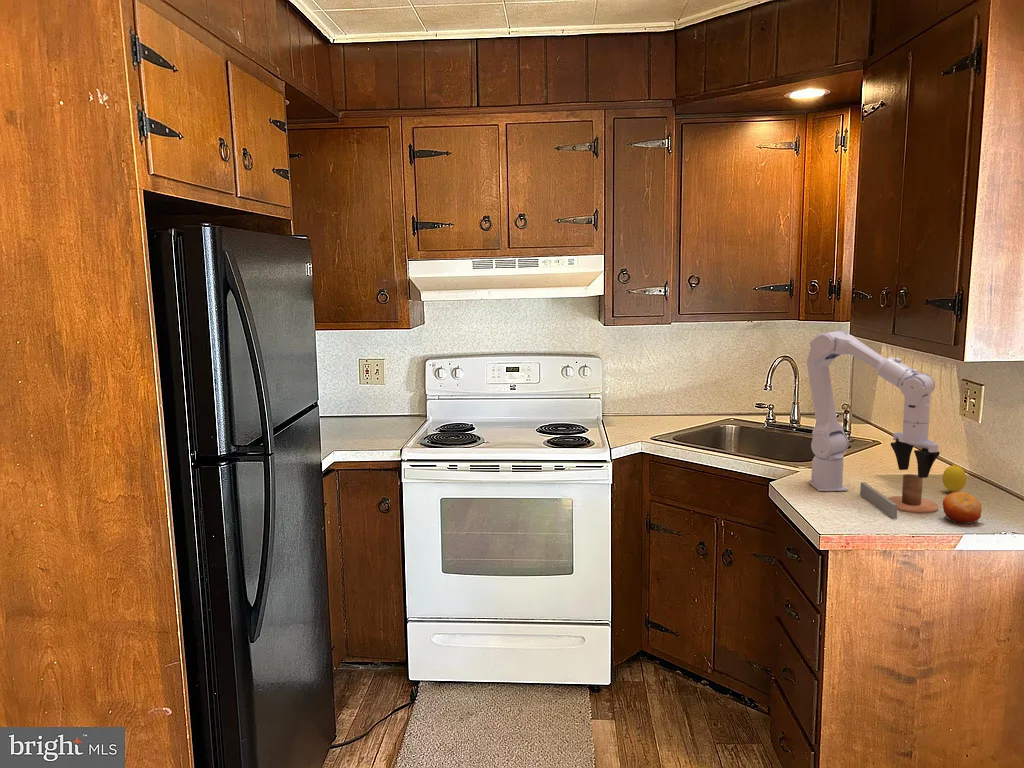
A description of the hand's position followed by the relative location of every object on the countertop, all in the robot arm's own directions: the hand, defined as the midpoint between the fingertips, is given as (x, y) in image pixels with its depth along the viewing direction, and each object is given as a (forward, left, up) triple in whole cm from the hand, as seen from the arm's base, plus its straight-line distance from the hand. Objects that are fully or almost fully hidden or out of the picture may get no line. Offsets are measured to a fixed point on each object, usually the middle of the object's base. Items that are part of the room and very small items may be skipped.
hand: (913, 473), depth 189 cm
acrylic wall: (0, -8, -9) cm, 12 cm away
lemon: (-11, +16, -9) cm, 21 cm away
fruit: (+12, +6, -9) cm, 16 cm away
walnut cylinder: (0, 0, -8) cm, 8 cm away
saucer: (0, 0, -9) cm, 9 cm away
